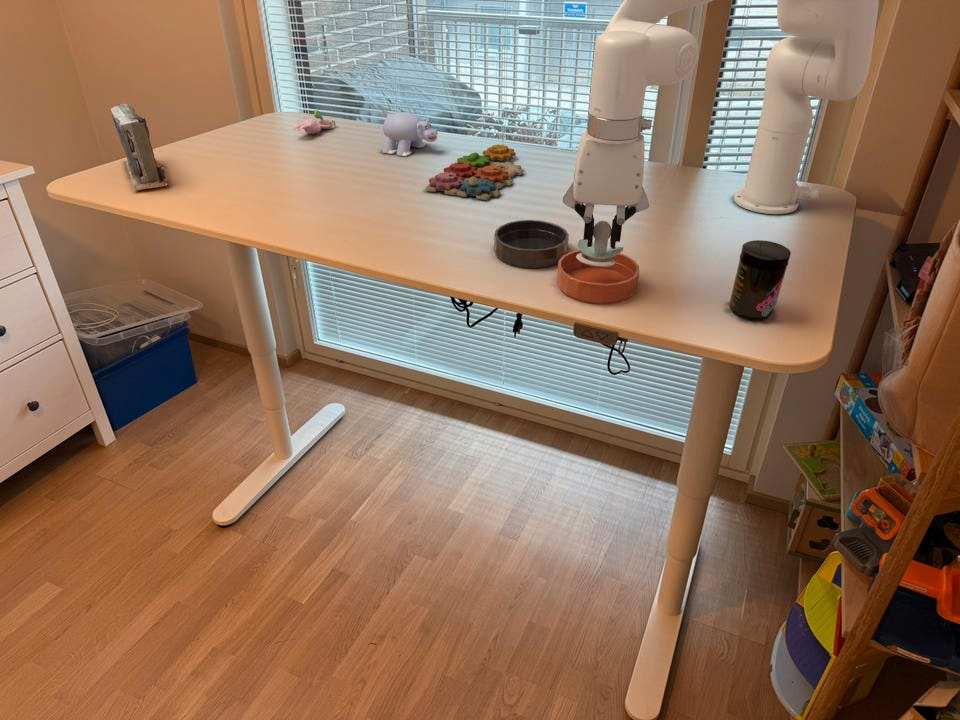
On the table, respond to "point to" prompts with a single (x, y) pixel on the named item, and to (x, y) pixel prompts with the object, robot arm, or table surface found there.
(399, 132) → the hippopotamus toy
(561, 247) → the charcoal bowl
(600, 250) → the pacifier
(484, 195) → the gear puzzle
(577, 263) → the terracotta bowl
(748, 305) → the supplement container
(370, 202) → the table surface
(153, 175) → the radio
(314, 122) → the rabbit figure
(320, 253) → the table surface
